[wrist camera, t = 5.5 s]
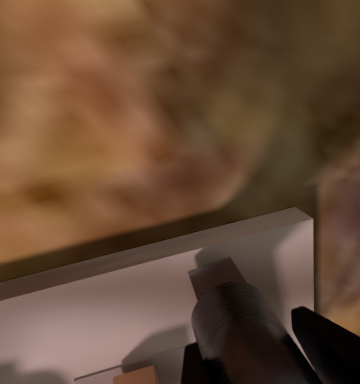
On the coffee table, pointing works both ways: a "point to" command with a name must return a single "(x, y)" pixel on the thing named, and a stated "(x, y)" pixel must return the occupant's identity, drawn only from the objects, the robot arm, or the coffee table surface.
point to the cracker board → (144, 301)
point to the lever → (242, 331)
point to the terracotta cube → (138, 377)
